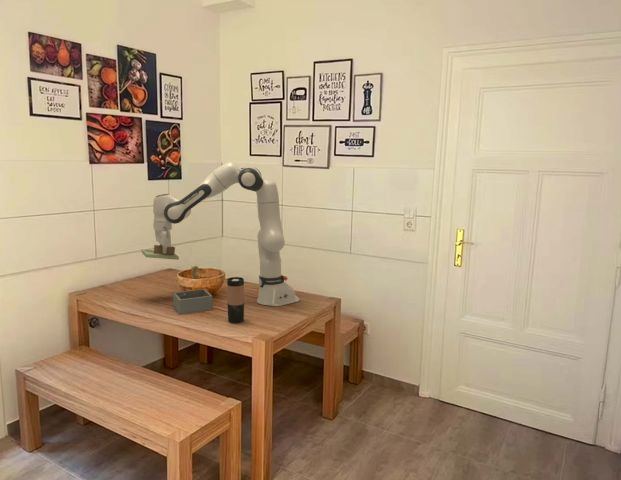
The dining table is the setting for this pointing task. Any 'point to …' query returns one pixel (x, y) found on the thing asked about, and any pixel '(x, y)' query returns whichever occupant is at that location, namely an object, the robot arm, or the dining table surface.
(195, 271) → the wooden key
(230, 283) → the travel mug
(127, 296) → the dining table surface
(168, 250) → the lid
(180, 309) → the grey open box
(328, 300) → the dining table surface
